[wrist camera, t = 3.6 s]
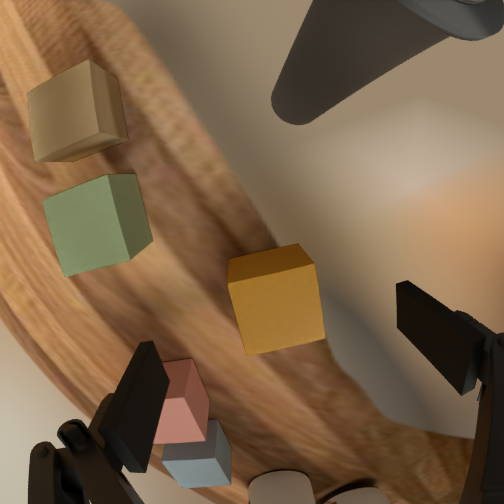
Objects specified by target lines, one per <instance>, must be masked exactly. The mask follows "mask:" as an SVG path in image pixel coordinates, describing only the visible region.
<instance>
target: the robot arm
mask: <svg viewBox="0 0 504 504" xmlns="http://www.w3.org/2000/svg"><path fill="white" fill-rule="evenodd" d="M453 1H456V2H458V3H461V4H465V5H477V4H480V3H481V2H483V1H485V0H453ZM396 300H397V328H398V329H399V330H400V331H401V332H402V333H403V334H404V335H405V336H406V337H407V338H408V339H409V340H410V341H411V343H412V344H413V345H414V346H415V347H416V348H417V349H418V350H419V351H420V352H421V353H422V354H423V355H424V356H425V357H426V358H427V359H428V360H429V361H430V362H431V363H432V365H433V366H434V367H435V368H436V369H437V370H438V371H439V372H440V373H441V374H442V375H443V376H444V377H445V379H447V381H448V382H449V383H450V384H451V385H452V386H453V387H454V388H455V389H456V391H457V392H458V393H459V394H460V395H461V396H462V395H464V394H466V393H468V392H469V391H471V390H473V389H474V388H475V385H476V381H477V378H478V379H479V380H480V381H481V382H482V385H481V388H480V392H479V395H478V398H477V401H479V410H478V419H477V426H476V433H475V439H474V445H473V451H472V456H471V461H470V465H469V470H468V474H467V478H466V482H465V486H464V490H463V493H462V497H461V500H460V503H459V504H504V333H499V334H496V333H494V332H493V331H491V330H490V329H488V328H487V327H486V326H484V325H483V324H481V323H479V322H478V321H477V320H476V319H473V317H472V316H470V315H469V314H467V313H465V312H462V311H458V310H457V311H455V312H453V311H452V310H450V309H449V308H448V307H446V306H445V305H443V304H442V303H440V302H439V301H437V300H436V299H435V298H433V297H432V296H430V295H429V294H427V293H426V292H424V291H423V290H422V289H420V288H418V287H417V286H416V285H414V284H413V283H411V282H409V281H408V280H407V281H403V282H400V283H397V284H396ZM169 384H170V379H169V377H168V375H167V373H166V371H165V368H164V366H163V364H162V361H161V359H160V357H159V354H158V352H157V350H156V347H155V345H154V342H153V341H147V342H140V344H139V345H138V347H137V349H136V351H135V353H134V355H133V357H132V359H131V361H130V363H129V365H128V367H127V369H126V371H125V373H124V375H123V377H122V378H121V380H120V382H119V384H118V386H117V389H116V391H115V393H109V394H108V395H107V396H106V397H105V398H104V399H103V400H102V402H101V403H100V405H99V407H98V408H99V409H97V411H96V413H95V414H96V415H94V417H93V419H92V421H91V423H90V425H89V427H88V428H87V427H86V425H85V424H84V423H83V422H82V420H79V419H72V420H69V421H67V422H65V423H64V424H62V425H61V427H60V428H59V429H58V432H57V436H58V438H59V439H60V440H61V442H62V443H63V444H64V445H65V448H60V449H56V448H55V447H54V446H53V445H52V444H51V442H47V441H46V442H41V443H38V444H37V445H36V446H34V448H33V449H32V451H31V454H30V464H29V481H28V504H90V502H91V503H92V504H144V502H143V501H142V500H141V499H140V497H139V495H138V494H137V493H136V491H135V490H134V488H133V487H132V485H131V484H130V483H129V481H128V480H127V478H126V477H125V475H124V474H123V473H122V472H121V470H122V467H123V465H124V466H125V467H126V468H127V470H128V471H129V472H135V473H146V471H147V466H148V462H149V458H150V454H151V450H152V447H153V443H154V439H155V435H156V431H157V427H158V424H159V420H160V416H161V412H162V409H163V405H164V401H165V398H166V394H167V391H168V387H169ZM479 399H480V400H479ZM89 500H90V502H89Z"/></svg>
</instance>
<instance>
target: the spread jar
mask: <svg viewBox="0 0 504 504" xmlns="http://www.w3.org/2000/svg"><path fill="white" fill-rule="evenodd" d="M321 504H390V502H389V500H388V498H387V496H386V494H385V493H384V492H383V491H382V490H381V489H379V488H378V487H375V486H373V485H368V484H355V485H350V486H347V487H344V488H341V489H339V490H337V491H335V492H333V493H331V494H330V495H329V496H327V497H326V498H325V499H324V501H323V502H322V503H321Z"/></svg>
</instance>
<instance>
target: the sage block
mask: <svg viewBox="0 0 504 504" xmlns="http://www.w3.org/2000/svg"><path fill="white" fill-rule="evenodd" d="M43 205H44V210H45V214H46V218H47V222H48V225H49V229H50V233H51V236H52V240H53V243H54V246H55V250H56V253H57V256H58V259H59V262H60V265H61V268H62V271H63V274H64V277H66V276H70V275H74V274H78V273H82V272H86V271H89V270H93V269H97V268H101V267H105V266H109V265H113V264H117V263H121V262H125V261H129V260H131V259H132V258H133V257H134V256H136V255H137V254H138V253H139V252H140V251H142V250H143V249H144V248H145V247H146V246H148V245H149V244H150V243H151V242H152V241H153V238H152V235H151V231H150V228H149V224H148V220H147V217H146V213H145V209H144V205H143V201H142V197H141V193H140V189H139V185H138V181H137V176H136V174H108V175H104V176H102V177H99V178H96V179H93V180H91V181H88V182H85V183H83V184H80V185H78V186H75V187H73V188H70V189H68V190H65V191H63V192H60V193H58V194H56V195H53V196H51V197H49V198H46V199H44V200H43Z"/></svg>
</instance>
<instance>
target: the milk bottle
mask: <svg viewBox="0 0 504 504" xmlns="http://www.w3.org/2000/svg"><path fill="white" fill-rule="evenodd" d="M248 500H249V504H316V503H315V499H314V495H313V490H312V486H311V482H310V480H309V478H308V477H307V476H306V475H304V474H303V473H300V472H296V471H276V472H270V473H267V474H264V475H261V476H259V477H257V478H255V479H254V480H253V481H252V482H251V483H250V485H249V488H248Z"/></svg>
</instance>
